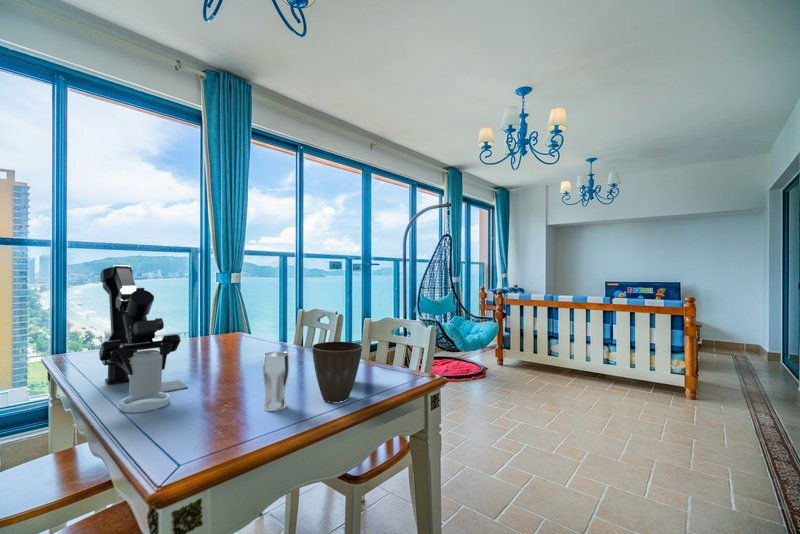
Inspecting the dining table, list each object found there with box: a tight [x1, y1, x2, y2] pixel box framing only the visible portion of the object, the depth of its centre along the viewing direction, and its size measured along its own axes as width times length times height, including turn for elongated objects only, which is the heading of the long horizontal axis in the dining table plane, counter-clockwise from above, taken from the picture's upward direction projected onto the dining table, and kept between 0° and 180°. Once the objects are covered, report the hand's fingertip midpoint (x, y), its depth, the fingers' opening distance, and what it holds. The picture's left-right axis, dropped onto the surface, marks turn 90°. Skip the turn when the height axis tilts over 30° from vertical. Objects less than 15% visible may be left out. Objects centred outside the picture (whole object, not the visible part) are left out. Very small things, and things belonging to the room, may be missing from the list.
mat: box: [160, 380, 189, 393], centre depth 121 cm, size 10×10×1 cm
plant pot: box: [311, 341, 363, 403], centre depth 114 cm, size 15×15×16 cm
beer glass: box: [262, 351, 290, 413], centre depth 105 cm, size 7×7×15 cm
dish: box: [118, 392, 171, 414], centre depth 105 cm, size 11×11×2 cm
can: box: [128, 349, 163, 398], centre depth 105 cm, size 8×8×12 cm
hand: (147, 371), depth 104 cm, fingers closed on can, 7 cm apart
